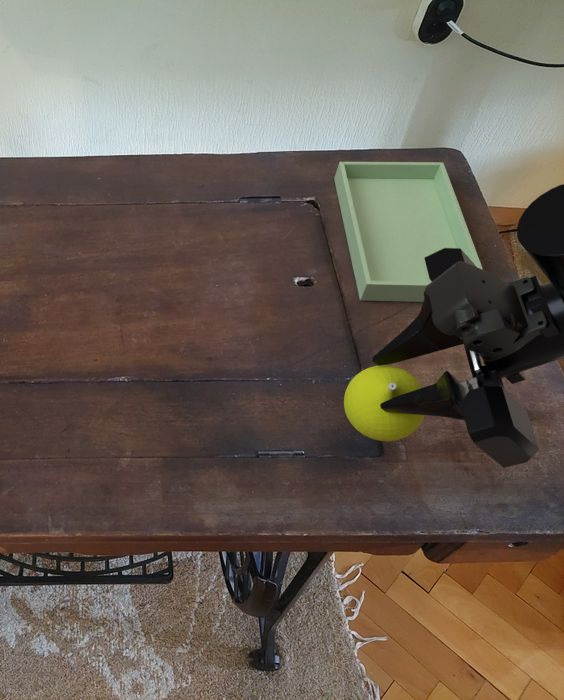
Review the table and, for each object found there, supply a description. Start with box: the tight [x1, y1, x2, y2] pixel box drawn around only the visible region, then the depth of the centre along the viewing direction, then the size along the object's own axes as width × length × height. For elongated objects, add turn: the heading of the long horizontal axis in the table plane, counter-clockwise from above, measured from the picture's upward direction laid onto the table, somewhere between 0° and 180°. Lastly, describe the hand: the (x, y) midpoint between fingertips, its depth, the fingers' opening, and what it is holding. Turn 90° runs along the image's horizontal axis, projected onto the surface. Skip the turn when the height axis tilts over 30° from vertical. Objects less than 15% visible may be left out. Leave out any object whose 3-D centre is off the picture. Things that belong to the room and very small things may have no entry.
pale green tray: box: [333, 161, 484, 303], centre depth 86 cm, size 14×23×3 cm, turn 176°
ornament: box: [343, 364, 426, 442], centre depth 60 cm, size 7×7×10 cm
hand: (378, 384), depth 59 cm, fingers closed on ornament, 5 cm apart
